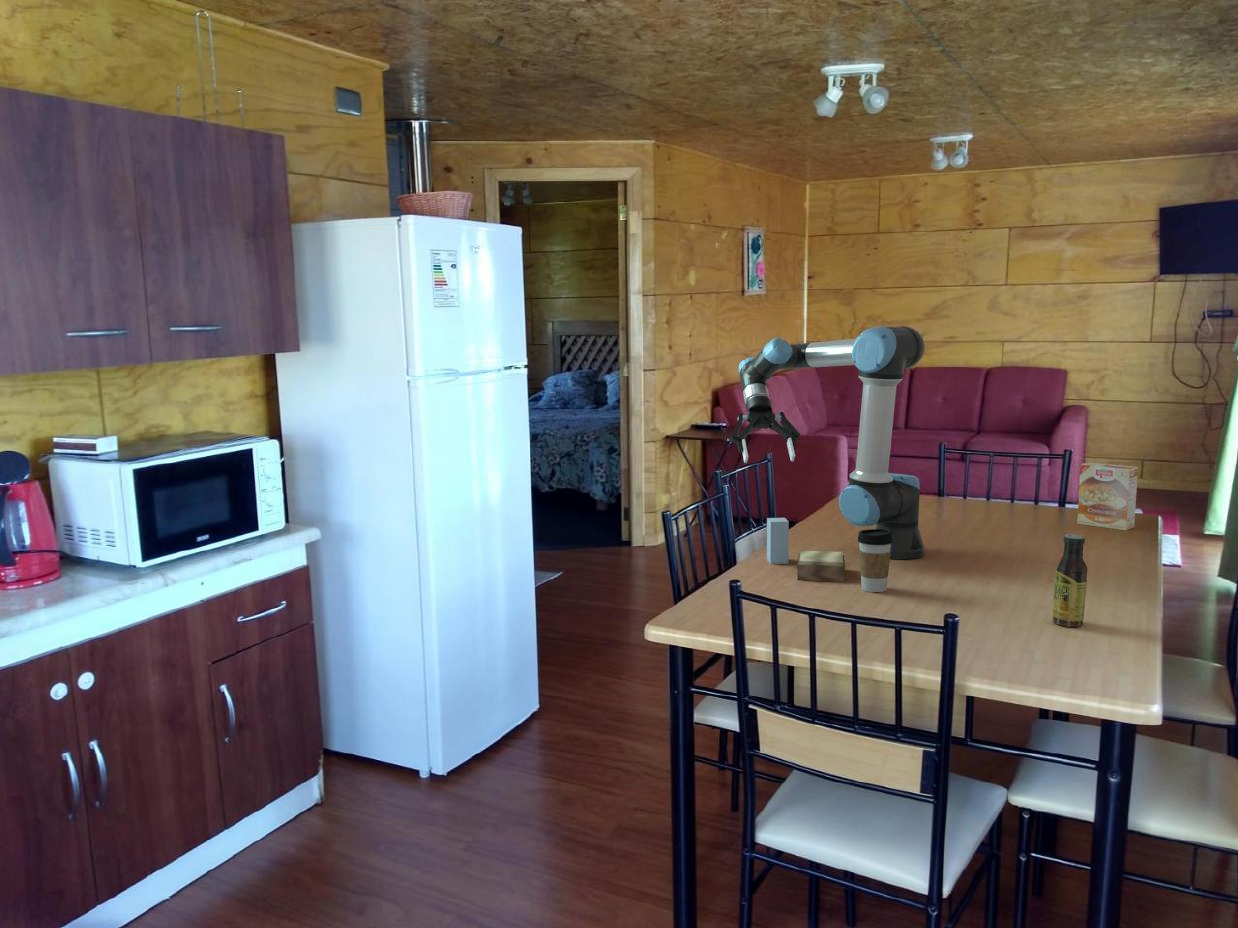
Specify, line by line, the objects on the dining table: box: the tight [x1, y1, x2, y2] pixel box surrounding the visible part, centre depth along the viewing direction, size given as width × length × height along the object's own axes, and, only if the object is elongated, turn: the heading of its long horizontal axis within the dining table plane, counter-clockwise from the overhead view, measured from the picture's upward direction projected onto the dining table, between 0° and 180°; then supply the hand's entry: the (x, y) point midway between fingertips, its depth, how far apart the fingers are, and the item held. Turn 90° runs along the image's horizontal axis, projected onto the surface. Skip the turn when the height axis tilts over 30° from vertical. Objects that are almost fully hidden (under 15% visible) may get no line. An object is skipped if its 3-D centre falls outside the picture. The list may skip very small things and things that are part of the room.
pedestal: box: [796, 550, 846, 583], centre depth 247 cm, size 12×12×5 cm
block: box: [766, 517, 790, 565], centre depth 260 cm, size 5×5×12 cm
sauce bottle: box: [1052, 533, 1088, 628], centre depth 202 cm, size 7×6×20 cm
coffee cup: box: [857, 528, 893, 593], centre depth 232 cm, size 8×8×15 cm
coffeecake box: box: [1076, 461, 1139, 531], centre depth 295 cm, size 15×7×20 cm, turn 42°
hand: (769, 459), depth 267 cm, fingers open, 13 cm apart
